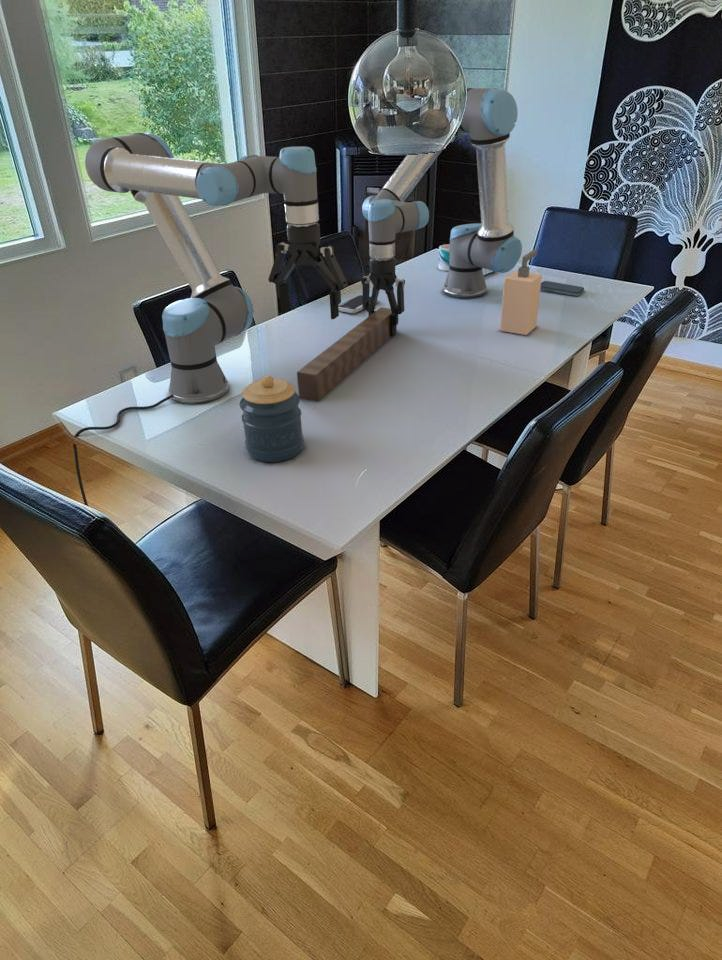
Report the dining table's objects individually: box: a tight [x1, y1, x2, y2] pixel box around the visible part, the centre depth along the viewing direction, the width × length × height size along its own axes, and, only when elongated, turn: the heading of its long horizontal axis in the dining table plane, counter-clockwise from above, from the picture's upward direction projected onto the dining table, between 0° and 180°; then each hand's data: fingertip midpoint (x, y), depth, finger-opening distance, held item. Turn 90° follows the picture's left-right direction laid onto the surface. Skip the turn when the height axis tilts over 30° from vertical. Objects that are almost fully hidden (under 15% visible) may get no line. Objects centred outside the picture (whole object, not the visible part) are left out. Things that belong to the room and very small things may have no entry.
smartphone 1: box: [338, 294, 378, 314], centre depth 231 cm, size 8×1×15 cm
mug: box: [438, 243, 450, 272], centre depth 266 cm, size 8×12×8 cm
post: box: [296, 306, 398, 402], centre depth 189 cm, size 52×5×7 cm, turn 155°
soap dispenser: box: [499, 249, 543, 336], centre depth 204 cm, size 13×9×22 cm
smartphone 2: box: [540, 280, 585, 297], centre depth 238 cm, size 8×2×15 cm
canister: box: [239, 374, 305, 463], centre depth 146 cm, size 13×13×18 cm
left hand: (310, 314), depth 163 cm, fingers open, 13 cm apart
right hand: (383, 333), depth 208 cm, fingers closed on post, 5 cm apart
